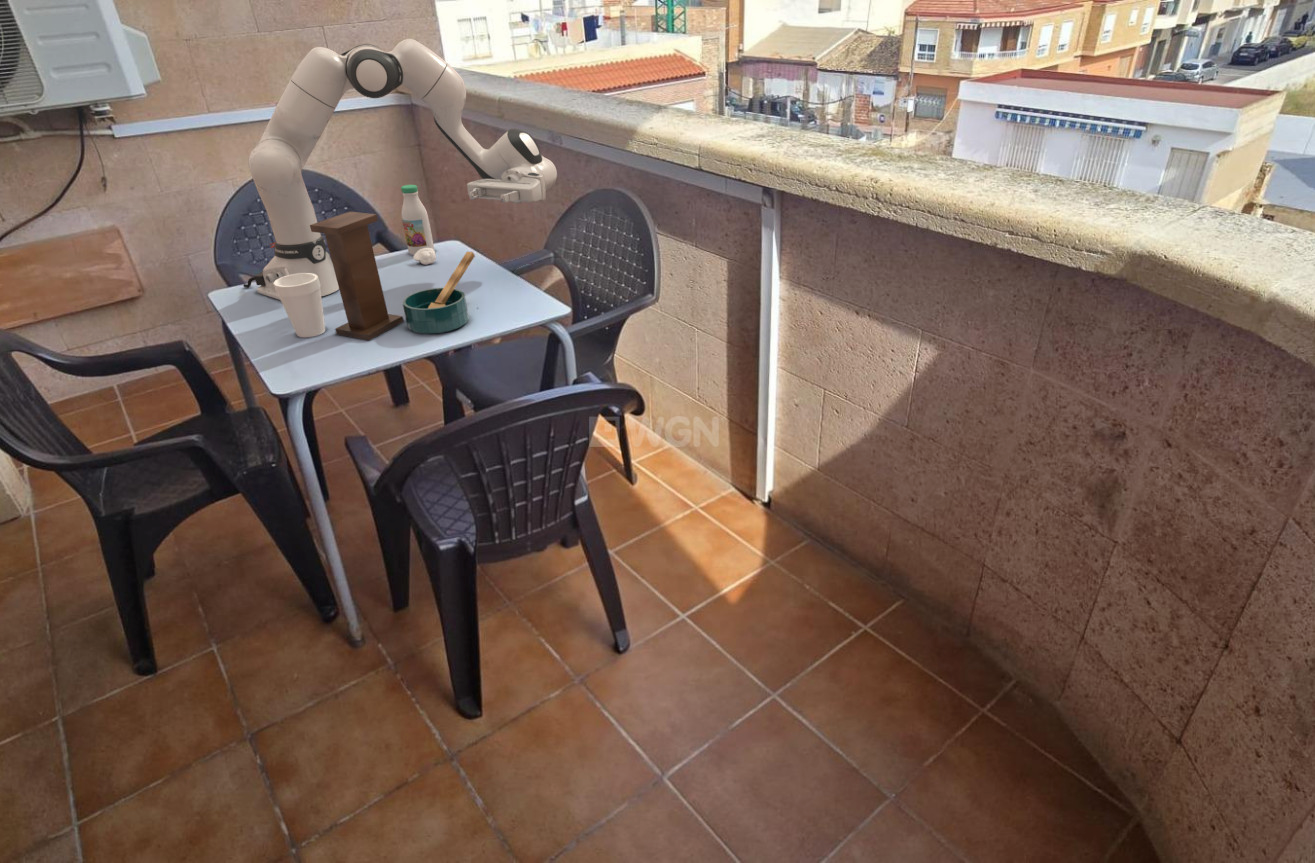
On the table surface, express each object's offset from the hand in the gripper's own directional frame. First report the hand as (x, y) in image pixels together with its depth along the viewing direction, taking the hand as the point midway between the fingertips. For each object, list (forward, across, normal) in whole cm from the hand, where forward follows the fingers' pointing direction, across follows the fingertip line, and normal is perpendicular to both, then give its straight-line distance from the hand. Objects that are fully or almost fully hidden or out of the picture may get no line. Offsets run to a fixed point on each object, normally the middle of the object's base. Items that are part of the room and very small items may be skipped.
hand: (487, 197), depth 184 cm
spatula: (+20, 0, +18) cm, 27 cm away
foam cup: (+41, -26, +24) cm, 54 cm away
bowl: (+26, 0, +24) cm, 35 cm away
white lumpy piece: (-11, -34, +24) cm, 43 cm away
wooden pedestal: (+34, -14, +24) cm, 44 cm away
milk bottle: (-19, -42, +24) cm, 52 cm away
